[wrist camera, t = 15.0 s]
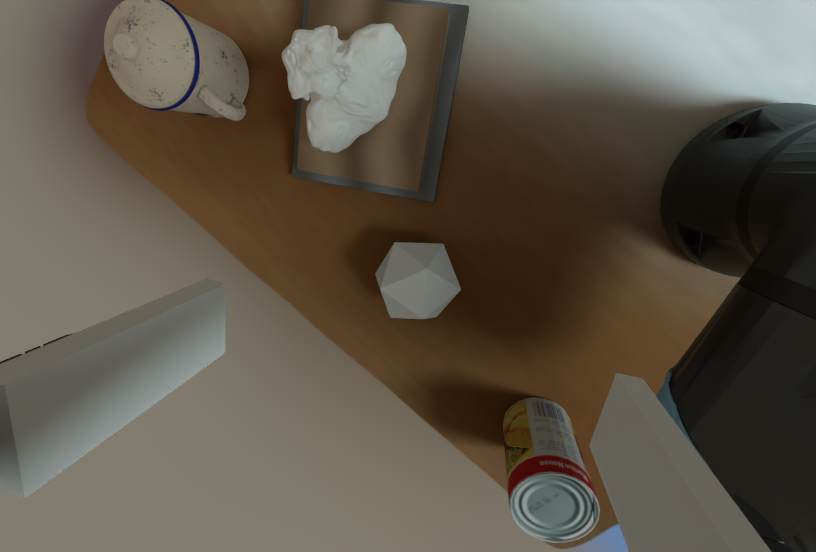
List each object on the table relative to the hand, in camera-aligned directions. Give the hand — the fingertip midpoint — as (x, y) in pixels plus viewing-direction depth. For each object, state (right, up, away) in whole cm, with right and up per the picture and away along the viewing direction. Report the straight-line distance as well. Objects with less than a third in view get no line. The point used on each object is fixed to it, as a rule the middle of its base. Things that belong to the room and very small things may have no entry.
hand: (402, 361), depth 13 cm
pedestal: (-3, +21, +27) cm, 34 cm away
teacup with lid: (-20, +24, +30) cm, 43 cm away
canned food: (+16, -15, +34) cm, 40 cm away
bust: (-4, +20, +24) cm, 32 cm away
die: (+2, +3, +31) cm, 32 cm away
